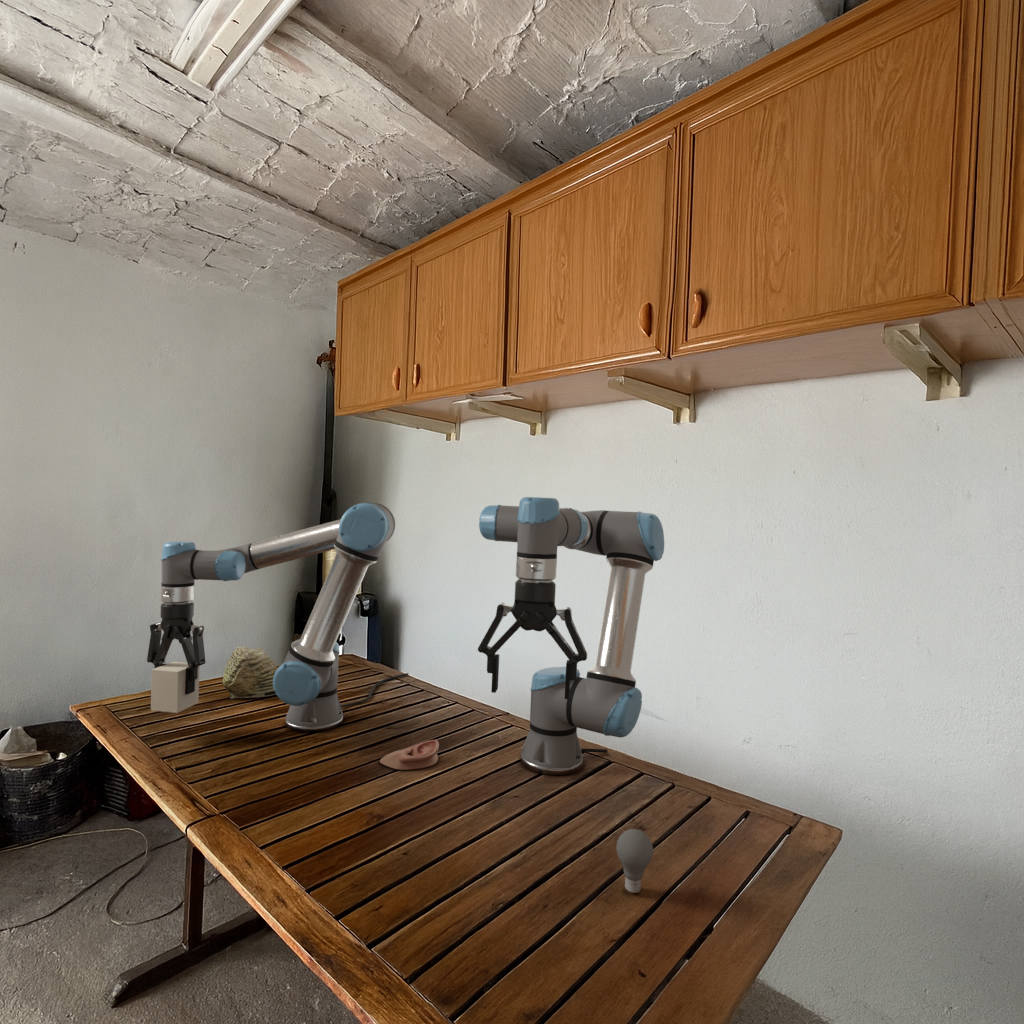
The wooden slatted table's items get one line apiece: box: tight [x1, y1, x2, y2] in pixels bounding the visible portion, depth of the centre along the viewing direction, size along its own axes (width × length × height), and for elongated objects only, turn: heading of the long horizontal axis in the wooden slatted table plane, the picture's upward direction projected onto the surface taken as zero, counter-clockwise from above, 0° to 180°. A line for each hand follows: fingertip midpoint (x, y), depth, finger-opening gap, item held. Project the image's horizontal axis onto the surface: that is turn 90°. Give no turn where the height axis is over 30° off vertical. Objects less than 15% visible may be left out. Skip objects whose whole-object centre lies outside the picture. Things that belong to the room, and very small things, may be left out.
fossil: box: [222, 646, 278, 699], centre depth 198 cm, size 9×18×15 cm, turn 132°
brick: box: [150, 661, 200, 714], centre depth 162 cm, size 8×7×10 cm
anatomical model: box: [379, 739, 440, 771], centre depth 154 cm, size 13×4×12 cm
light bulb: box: [615, 828, 654, 894], centre depth 106 cm, size 6×6×10 cm
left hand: (175, 691), depth 162 cm, fingers closed on brick, 7 cm apart
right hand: (530, 693), depth 118 cm, fingers open, 13 cm apart
